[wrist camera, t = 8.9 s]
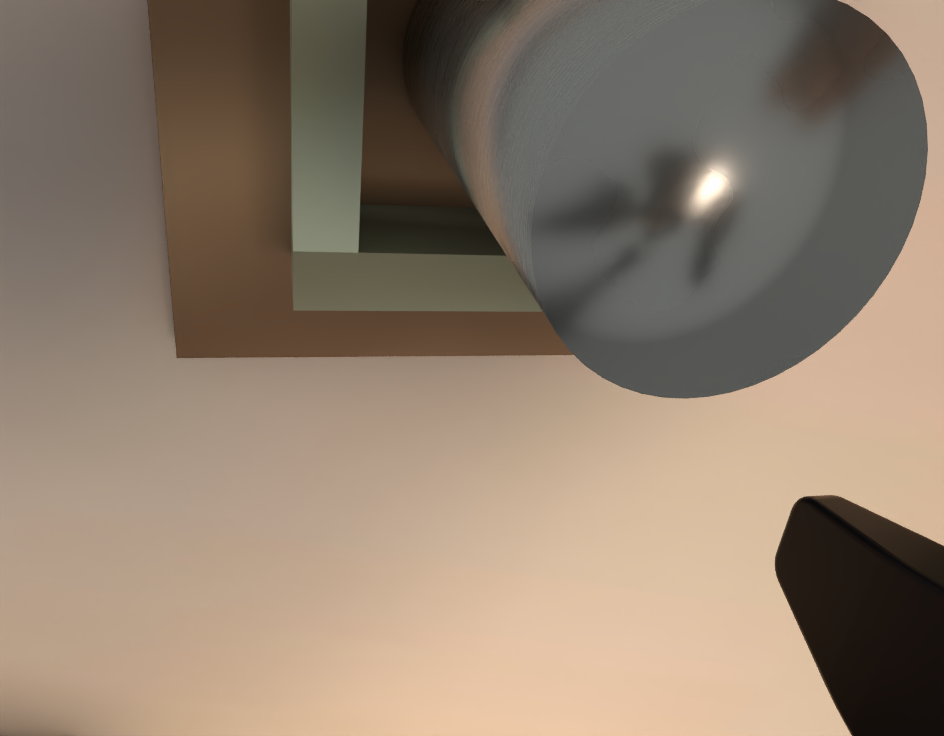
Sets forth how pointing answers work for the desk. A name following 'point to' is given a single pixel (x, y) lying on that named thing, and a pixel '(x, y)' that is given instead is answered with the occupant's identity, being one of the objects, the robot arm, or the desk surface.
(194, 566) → the desk surface
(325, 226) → the dock board
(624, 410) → the desk surface
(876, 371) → the desk surface
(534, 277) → the peg
